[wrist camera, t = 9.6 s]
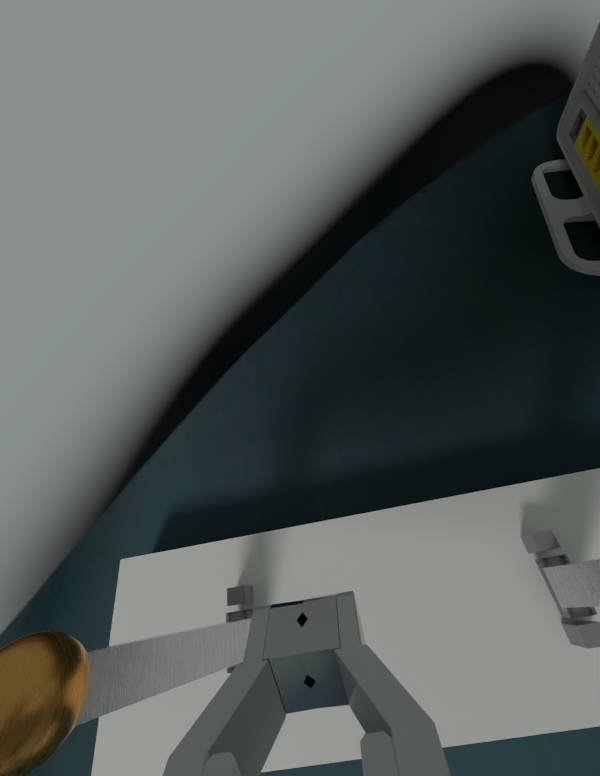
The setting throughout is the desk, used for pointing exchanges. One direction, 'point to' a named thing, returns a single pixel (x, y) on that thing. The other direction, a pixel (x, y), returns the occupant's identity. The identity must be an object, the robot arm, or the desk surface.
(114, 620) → the control panel
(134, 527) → the desk surface
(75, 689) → the orange knob lever
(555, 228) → the network device
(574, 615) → the grey knob lever
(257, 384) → the desk surface
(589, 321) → the desk surface
